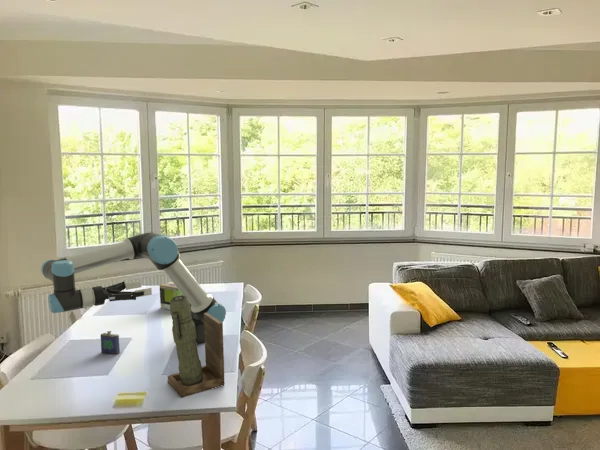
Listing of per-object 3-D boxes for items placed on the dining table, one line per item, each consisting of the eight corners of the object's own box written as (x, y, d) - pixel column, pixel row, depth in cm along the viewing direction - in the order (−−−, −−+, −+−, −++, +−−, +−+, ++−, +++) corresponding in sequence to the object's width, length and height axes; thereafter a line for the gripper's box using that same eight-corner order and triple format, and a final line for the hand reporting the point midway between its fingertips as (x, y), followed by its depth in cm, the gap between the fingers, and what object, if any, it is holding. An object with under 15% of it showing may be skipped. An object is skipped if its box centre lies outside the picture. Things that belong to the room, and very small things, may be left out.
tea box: (190, 308, 291) (189, 284, 288) (177, 312, 282) (176, 288, 280) (172, 304, 298) (171, 280, 296) (159, 308, 290) (158, 284, 288)
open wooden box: (209, 371, 205) (207, 312, 202) (224, 385, 193) (222, 322, 189) (167, 382, 195) (164, 321, 192) (181, 398, 183) (178, 332, 179)
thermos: (207, 371, 200) (194, 291, 193) (198, 387, 188) (184, 302, 182) (186, 372, 201) (173, 293, 194) (176, 388, 190) (161, 304, 183)
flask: (121, 352, 226) (119, 330, 224) (117, 355, 223) (115, 333, 221) (103, 351, 228) (101, 329, 226) (99, 353, 225) (98, 331, 223)
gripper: (86, 298, 202) (137, 289, 214) (100, 314, 182) (156, 303, 194) (85, 281, 201) (136, 272, 213) (99, 295, 181) (155, 285, 193)
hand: (146, 287), depth 203 cm, fingers open, 13 cm apart
